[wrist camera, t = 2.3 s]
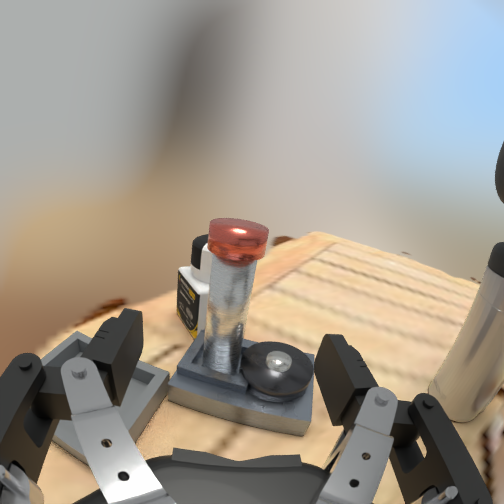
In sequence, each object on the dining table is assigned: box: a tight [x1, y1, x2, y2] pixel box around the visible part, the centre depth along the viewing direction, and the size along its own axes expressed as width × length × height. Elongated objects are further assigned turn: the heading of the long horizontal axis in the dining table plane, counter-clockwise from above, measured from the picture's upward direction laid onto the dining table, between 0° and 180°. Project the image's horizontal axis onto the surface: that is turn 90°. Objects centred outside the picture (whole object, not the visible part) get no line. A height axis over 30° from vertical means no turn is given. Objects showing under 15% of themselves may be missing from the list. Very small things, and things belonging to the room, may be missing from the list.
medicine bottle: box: [177, 234, 213, 339], centre depth 35 cm, size 7×7×12 cm
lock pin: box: [203, 218, 269, 374], centre depth 24 cm, size 5×5×14 cm
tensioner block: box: [167, 328, 314, 436], centre depth 25 cm, size 13×10×5 cm
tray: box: [41, 331, 170, 466], centre depth 19 cm, size 12×12×2 cm
